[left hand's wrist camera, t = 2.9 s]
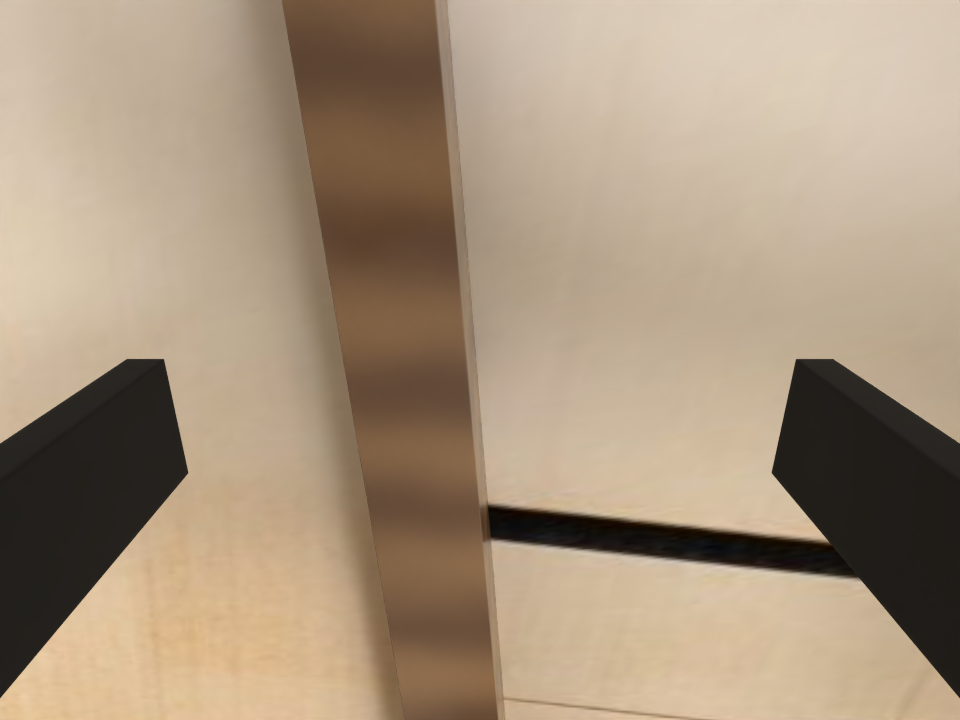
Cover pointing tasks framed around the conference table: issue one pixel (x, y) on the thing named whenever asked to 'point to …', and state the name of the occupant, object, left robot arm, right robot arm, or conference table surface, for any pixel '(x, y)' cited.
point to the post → (406, 330)
